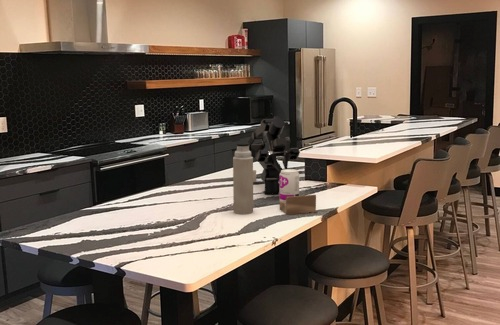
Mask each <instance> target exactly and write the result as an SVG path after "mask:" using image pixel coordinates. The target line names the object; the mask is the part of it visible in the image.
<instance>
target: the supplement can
mask: <svg viewBox="0 0 500 325" xmlns="http://www.w3.org/2000/svg"><path fill="white" fill-rule="evenodd" d="M279 183H280V192H279V205H280V201H283V202H285V203H286V197H291V196H300V173H299V170H298V169H293V168H287V169H285V168H282V170H281V172H280V181H279Z"/></svg>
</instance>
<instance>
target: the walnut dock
mask: <svg viewBox="0 0 500 325" xmlns="http://www.w3.org/2000/svg"><path fill="white" fill-rule="evenodd" d="M279 202H280V204H279V210H280V211H281V212H283V213H284V214H285V215H286V216H287V215H289V216H290V215H299V214H300V213H301V214H310V213H309V212H312V213H316V212H317V195H316V194H305V195H304V194H303V195H299V196H291V197H286V203H285V202H283V201H280V200H279Z"/></svg>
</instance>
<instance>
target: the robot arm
mask: <svg viewBox="0 0 500 325" xmlns="http://www.w3.org/2000/svg"><path fill="white" fill-rule="evenodd" d="M285 124H286V122H285V121H284V120H283V119H282V118H280V117H279V116H273V118H264V119H262V120H261V122H260V125H259V127H258V128H257V129H256V130H254V131H253V132H252V133H251V137H250V138H249V140H248V141H247V143H248V144H249V151H251V157H253V159H256V160H257V162H258V163H259V165H260V166H261V167H262V168H263V170H262V172H261V174H260V178H261V179H260V180H261V181H262V182H264V195H266V196H267V195H268V196H271V195H273V196H274V195H275V196H276V195H280V172H281V170H283V169H288V167H289V164H288V163H289V161H296V160H297V159H299V158H298V157H299V156H300V153H301V151H300V149H299V147H291V148H289V150H287V151H285V150H286V146H288V145H290V144H291V138H290V136H285V137H280V135H281V134H282V133H283V130H284V127H285ZM264 137H265V140H266V141H267V143H268V149H267V148H266V143H265V141H264ZM255 140H261V142H262V143H259V144H258V143H255V144H254V142H255ZM279 157H280V158H282V159H281V160H282V161H281V162H282V165H283V167H282V166H281V164H280V163H279V162H278V160H277V158H279Z"/></svg>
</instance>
